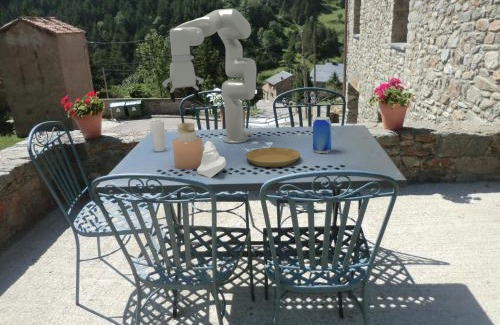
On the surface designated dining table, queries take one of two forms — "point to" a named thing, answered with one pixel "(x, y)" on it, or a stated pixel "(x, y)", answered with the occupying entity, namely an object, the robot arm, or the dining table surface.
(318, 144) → the beer can
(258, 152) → the plant saucer
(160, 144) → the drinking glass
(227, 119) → the robot arm
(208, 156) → the soft serve ice cream
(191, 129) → the stopper
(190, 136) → the orange jar
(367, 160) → the dining table surface
